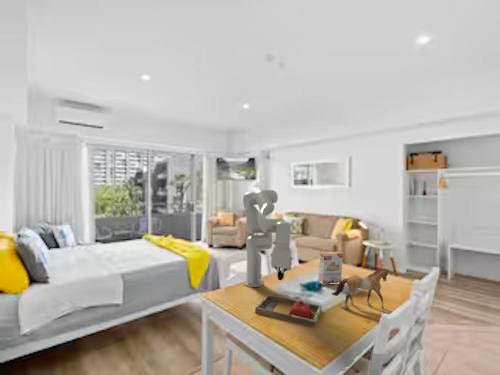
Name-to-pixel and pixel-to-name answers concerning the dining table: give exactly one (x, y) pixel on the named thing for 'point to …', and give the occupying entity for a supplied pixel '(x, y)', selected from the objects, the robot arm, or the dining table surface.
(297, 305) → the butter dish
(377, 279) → the horse figurine
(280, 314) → the box
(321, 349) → the dining table surface
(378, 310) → the dining table surface
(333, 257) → the cracker box
